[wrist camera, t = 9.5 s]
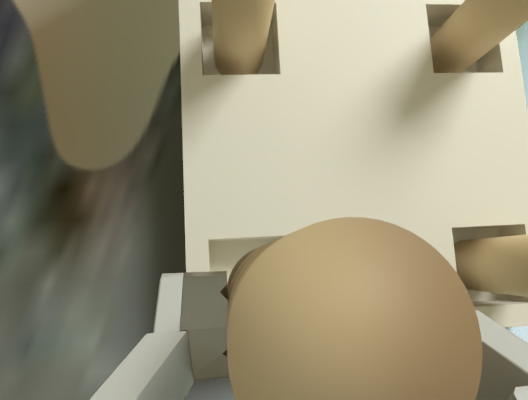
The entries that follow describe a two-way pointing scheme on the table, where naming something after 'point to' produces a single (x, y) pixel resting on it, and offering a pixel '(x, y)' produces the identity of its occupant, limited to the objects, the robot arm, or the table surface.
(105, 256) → the table surface
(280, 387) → the stool leg
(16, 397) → the table surface
